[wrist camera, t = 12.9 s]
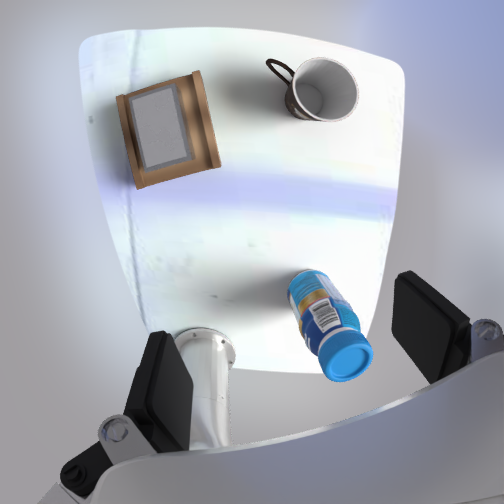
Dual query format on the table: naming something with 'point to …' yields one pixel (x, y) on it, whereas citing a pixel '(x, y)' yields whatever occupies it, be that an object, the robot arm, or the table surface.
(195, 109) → the stand
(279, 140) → the table surface
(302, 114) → the coffee mug
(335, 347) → the beverage bottle
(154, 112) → the block
